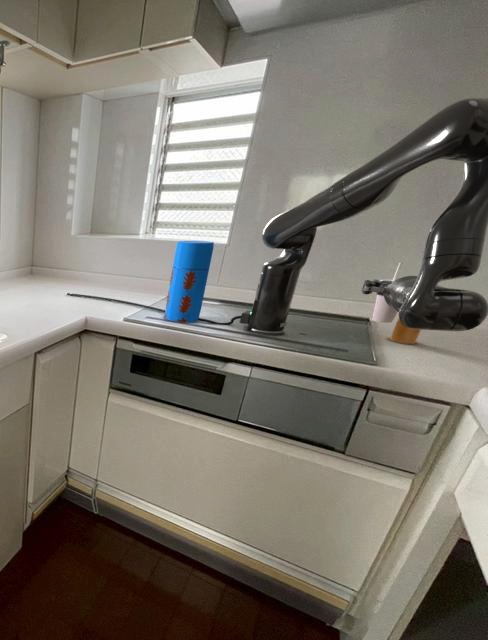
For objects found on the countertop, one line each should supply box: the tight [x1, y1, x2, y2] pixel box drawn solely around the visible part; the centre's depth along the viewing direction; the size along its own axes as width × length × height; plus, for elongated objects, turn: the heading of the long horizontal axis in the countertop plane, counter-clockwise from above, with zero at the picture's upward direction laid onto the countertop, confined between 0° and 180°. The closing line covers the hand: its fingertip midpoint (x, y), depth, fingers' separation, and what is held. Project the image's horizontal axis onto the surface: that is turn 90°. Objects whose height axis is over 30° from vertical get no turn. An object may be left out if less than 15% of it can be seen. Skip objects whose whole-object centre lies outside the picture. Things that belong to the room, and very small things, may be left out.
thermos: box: [164, 240, 215, 324], centre depth 133 cm, size 11×11×25 cm
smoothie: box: [371, 262, 403, 324], centre depth 97 cm, size 6×6×14 cm
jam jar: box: [389, 317, 422, 345], centre depth 111 cm, size 5×5×11 cm
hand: (392, 285), depth 99 cm, fingers closed on smoothie, 6 cm apart
